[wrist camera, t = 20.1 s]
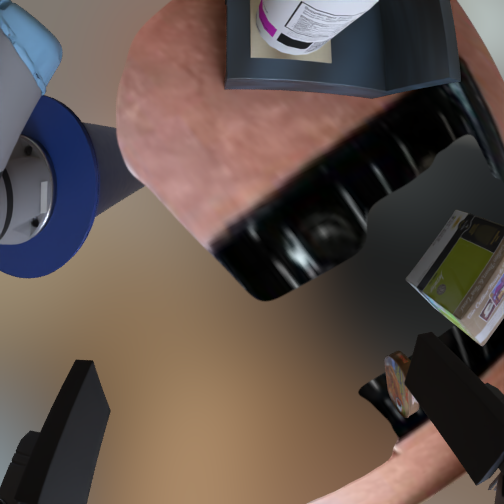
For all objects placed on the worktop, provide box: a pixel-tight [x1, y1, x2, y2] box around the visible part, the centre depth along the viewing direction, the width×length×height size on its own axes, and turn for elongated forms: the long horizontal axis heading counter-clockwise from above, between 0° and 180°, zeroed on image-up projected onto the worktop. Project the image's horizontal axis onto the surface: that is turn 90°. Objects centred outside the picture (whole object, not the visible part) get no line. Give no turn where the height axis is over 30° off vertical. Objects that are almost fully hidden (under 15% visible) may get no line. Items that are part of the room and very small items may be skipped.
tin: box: [384, 351, 419, 418], centre depth 50 cm, size 15×3×8 cm, turn 20°
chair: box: [225, 0, 461, 99], centre depth 27 cm, size 20×14×18 cm
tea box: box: [406, 210, 504, 346], centre depth 41 cm, size 15×10×15 cm
